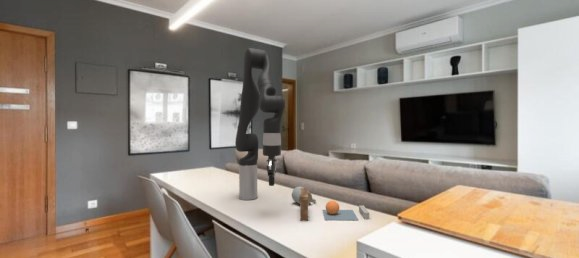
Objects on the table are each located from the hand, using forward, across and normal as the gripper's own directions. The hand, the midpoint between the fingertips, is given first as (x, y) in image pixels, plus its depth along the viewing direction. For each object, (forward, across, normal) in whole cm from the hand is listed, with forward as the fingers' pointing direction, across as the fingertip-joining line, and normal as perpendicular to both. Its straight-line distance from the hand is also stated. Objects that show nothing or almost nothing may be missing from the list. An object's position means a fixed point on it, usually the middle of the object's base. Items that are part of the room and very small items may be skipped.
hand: (271, 185), depth 115 cm
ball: (+9, +1, -25) cm, 27 cm away
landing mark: (+12, 0, -28) cm, 31 cm away
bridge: (+12, 0, -14) cm, 18 cm away
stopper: (+12, 0, -38) cm, 40 cm away
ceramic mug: (+13, +17, -14) cm, 25 cm away
